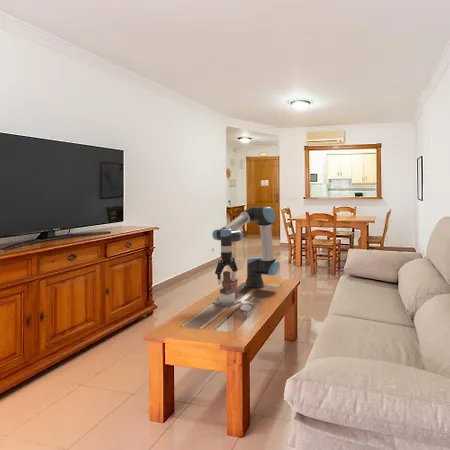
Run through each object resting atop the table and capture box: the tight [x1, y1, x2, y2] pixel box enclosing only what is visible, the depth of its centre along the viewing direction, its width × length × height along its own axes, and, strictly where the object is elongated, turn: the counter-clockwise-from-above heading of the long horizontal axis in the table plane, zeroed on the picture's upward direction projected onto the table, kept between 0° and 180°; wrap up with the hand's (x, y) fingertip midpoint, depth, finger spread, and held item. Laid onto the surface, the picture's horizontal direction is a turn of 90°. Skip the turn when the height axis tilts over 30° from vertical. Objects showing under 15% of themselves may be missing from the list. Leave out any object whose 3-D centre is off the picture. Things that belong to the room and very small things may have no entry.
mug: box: [221, 276, 239, 298], centre depth 308 cm, size 13×9×14 cm
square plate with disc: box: [212, 287, 242, 308], centre depth 290 cm, size 14×14×10 cm
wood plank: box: [222, 270, 231, 293], centre depth 289 cm, size 3×4×15 cm
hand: (226, 282), depth 289 cm, fingers open, 13 cm apart
